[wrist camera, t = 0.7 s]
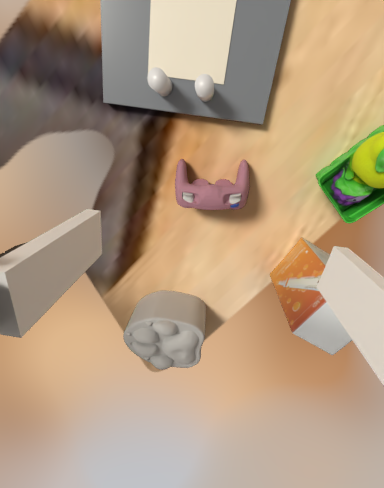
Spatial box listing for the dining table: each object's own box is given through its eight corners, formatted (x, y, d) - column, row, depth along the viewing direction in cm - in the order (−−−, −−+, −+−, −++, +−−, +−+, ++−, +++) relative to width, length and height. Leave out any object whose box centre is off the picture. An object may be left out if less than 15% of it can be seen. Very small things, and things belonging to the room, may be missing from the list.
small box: (300, 236, 36) (344, 285, 24) (333, 255, 37) (390, 312, 25) (267, 274, 39) (291, 334, 27) (298, 291, 40) (334, 357, 28)
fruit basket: (330, 214, 34) (380, 248, 24) (296, 167, 32) (335, 181, 21) (413, 159, 30) (515, 170, 20) (381, 100, 28) (478, 79, 18)
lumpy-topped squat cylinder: (200, 338, 46) (197, 380, 38) (135, 328, 46) (119, 367, 39) (208, 296, 42) (207, 333, 34) (136, 285, 42) (119, 319, 34)
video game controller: (179, 183, 35) (173, 216, 31) (176, 155, 32) (169, 188, 28) (245, 184, 35) (248, 218, 30) (250, 156, 31) (255, 189, 27)
